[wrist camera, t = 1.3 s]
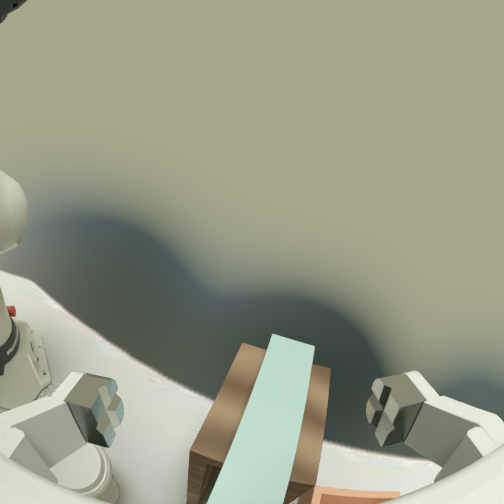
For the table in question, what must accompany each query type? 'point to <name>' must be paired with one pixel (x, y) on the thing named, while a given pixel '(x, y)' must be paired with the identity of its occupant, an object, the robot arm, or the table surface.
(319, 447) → the shelf stand
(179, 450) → the table surface
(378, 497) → the bowl pedestal
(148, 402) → the table surface
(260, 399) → the board
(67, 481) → the coffee cup
